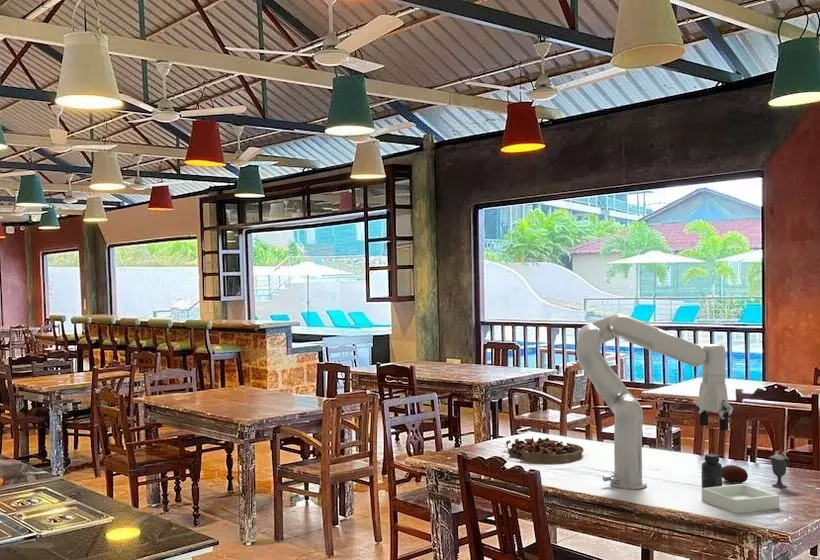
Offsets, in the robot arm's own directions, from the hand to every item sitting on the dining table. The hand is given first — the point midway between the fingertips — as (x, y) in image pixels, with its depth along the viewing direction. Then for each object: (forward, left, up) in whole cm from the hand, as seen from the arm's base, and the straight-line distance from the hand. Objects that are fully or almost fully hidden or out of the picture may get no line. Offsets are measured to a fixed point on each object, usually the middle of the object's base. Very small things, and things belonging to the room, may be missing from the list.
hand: (713, 427), depth 279 cm
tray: (-6, -20, -21) cm, 30 cm away
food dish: (-30, +68, -22) cm, 78 cm away
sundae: (+23, -7, -21) cm, 32 cm away
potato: (+12, +3, -21) cm, 25 cm away
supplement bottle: (-2, -2, -21) cm, 22 cm away
